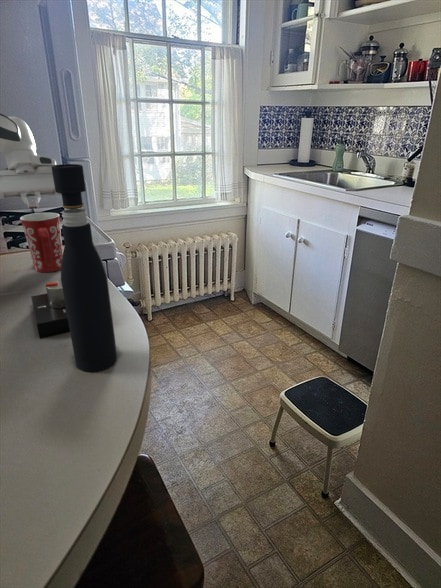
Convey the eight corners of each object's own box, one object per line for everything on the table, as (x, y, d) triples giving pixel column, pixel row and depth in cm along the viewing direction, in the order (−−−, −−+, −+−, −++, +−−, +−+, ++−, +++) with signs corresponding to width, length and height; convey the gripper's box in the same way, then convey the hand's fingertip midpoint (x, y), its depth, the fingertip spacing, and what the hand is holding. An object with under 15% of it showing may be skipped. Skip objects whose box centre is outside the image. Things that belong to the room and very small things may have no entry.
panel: (97, 326, 73) (95, 311, 72) (39, 339, 69) (36, 323, 68) (84, 299, 84) (82, 286, 82) (33, 309, 79) (30, 295, 78)
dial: (74, 297, 77) (71, 277, 76) (72, 307, 74) (69, 286, 72) (51, 299, 76) (47, 279, 75) (48, 309, 73) (43, 288, 71)
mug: (30, 264, 104) (20, 213, 98) (66, 260, 107) (58, 210, 101) (30, 281, 93) (18, 225, 87) (70, 275, 96) (61, 221, 91)
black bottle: (101, 376, 59) (70, 169, 47) (66, 367, 61) (28, 167, 49) (125, 354, 65) (103, 164, 52) (92, 347, 67) (64, 162, 54)
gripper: (-19, 162, 107) (-11, 204, 103) (60, 158, 116) (70, 197, 112) (-14, 176, 113) (-7, 217, 109) (61, 172, 121) (70, 210, 117)
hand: (33, 207), depth 111 cm, fingers closed
